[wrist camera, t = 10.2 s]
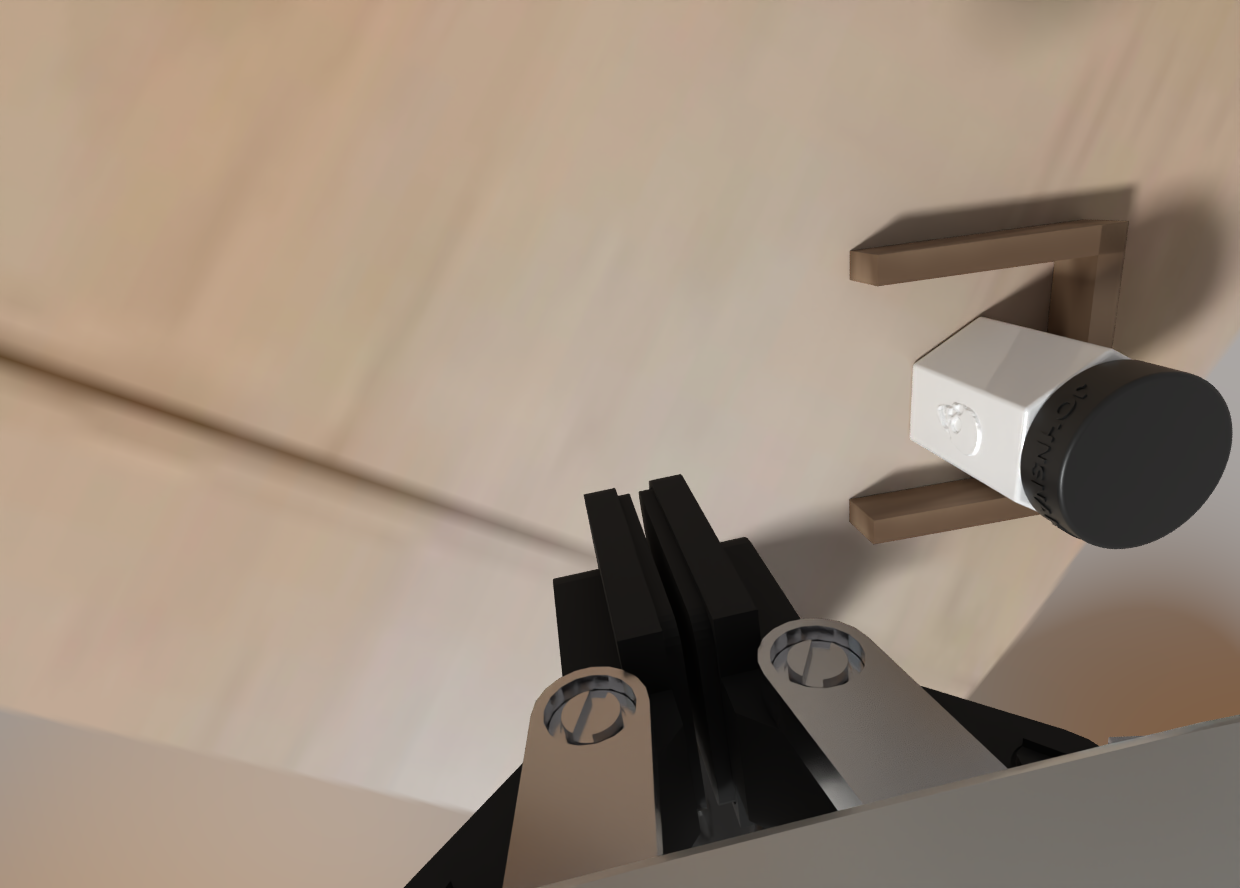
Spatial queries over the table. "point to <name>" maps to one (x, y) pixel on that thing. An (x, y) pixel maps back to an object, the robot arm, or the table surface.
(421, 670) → the table surface
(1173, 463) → the jar
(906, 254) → the walnut bay
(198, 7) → the table surface
